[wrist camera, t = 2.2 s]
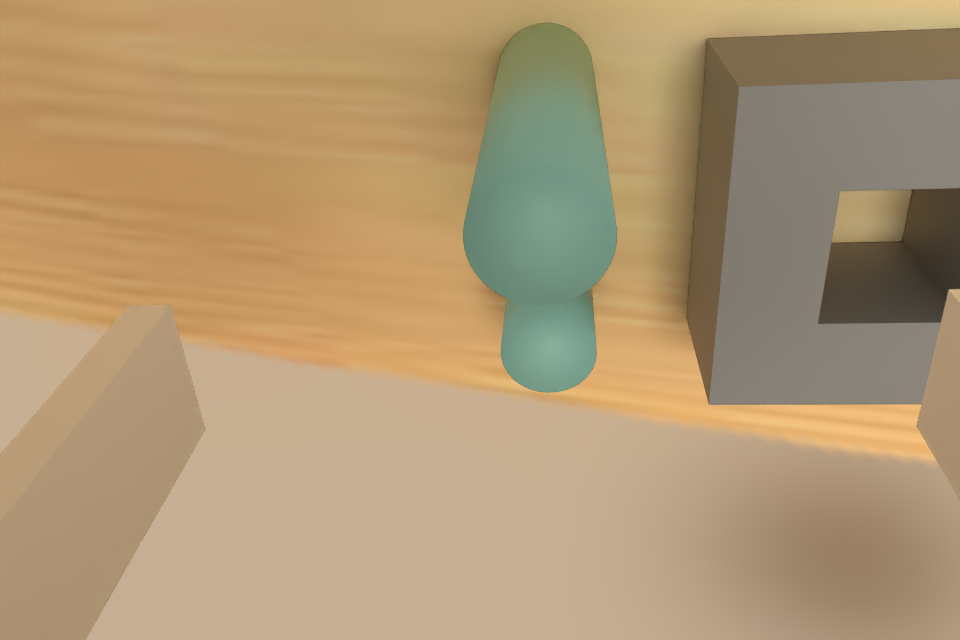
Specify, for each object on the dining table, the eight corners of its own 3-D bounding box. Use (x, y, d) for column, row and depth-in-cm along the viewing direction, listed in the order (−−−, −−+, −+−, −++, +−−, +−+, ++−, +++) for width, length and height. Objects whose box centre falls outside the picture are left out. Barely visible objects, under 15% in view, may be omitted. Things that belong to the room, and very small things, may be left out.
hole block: (686, 317, 38) (708, 404, 33) (707, 38, 32) (739, 87, 26) (971, 314, 37) (1045, 404, 31) (1048, 24, 31) (1157, 72, 25)
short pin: (509, 315, 39) (503, 392, 34) (506, 242, 37) (498, 312, 32) (590, 314, 38) (596, 392, 33) (591, 241, 37) (597, 311, 31)
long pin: (500, 119, 34) (468, 305, 21) (496, 25, 32) (457, 167, 20) (592, 116, 34) (615, 304, 21) (593, 20, 32) (619, 162, 19)
